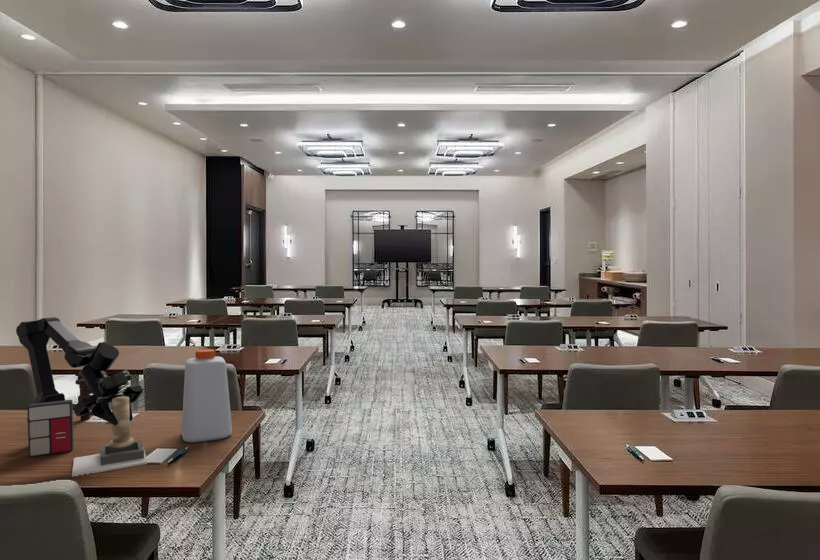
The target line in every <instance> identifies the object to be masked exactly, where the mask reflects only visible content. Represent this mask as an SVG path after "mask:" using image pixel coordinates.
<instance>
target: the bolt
mask: <svg viewBox="0 0 820 560" xmlns="http://www.w3.org/2000/svg"><path fill="white" fill-rule="evenodd" d="M75 385H77V386H78V387H79V400H80V399H81V397H85V396H89V395H91V394H89V393H88V390H89V389H90V388H89V387H88V385H87V384H86V382H85V380H84V379H81V380H78V378H77V379H76V380H75ZM88 410H89V411H88V413H87V415H83V416H79V417H80V420H81V421H89V420H90V419H91V415H90V413H91V409H90V408H88ZM88 419H89V420H88Z"/></svg>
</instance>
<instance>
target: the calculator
mask: <svg viewBox="0 0 820 560" xmlns="http://www.w3.org/2000/svg"><path fill="white" fill-rule="evenodd" d="M73 407H74V405H73V399H65V400H63V401H54V402H44V403H34V404H33V403H29V405H28V406H27V409H26V410H27V419H28V422H27V434H28V435H27V436H28V437H27V438H28V439H27V440H28V443H27V444H28V457H29V458H32V457H39V456H48V455H54V454H60V453H62V454H63V453H67V452H68V451H69V452H73V450H74V423H73V422H74V416H73V414H74V408H73ZM69 452H68V453H69Z"/></svg>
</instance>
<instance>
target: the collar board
mask: <svg viewBox="0 0 820 560" xmlns="http://www.w3.org/2000/svg"><path fill="white" fill-rule="evenodd" d="M99 449H100V452H99V453H95V454H90V455H84V456H75V457H73V463H72V464H73V465H72V471H71V477H72V478H75V477H80V476H79V475H81V476H85V475H84V474H86V475H91V474H90V473H92V474H97V473H102V472H108V471H109V472H110V471H113V470H114V471H115V470H121V469H125V468H133V467H136V466H137V467H138V466H144V465H148V458H147V455H146V452H145V448H144V446H143V441H142V440H134V443H133V444H132V445H130V446H127V447H121V448H111V447H109V444H107V445H103V446H100V448H99ZM74 476H75V477H74Z"/></svg>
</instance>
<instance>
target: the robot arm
mask: <svg viewBox="0 0 820 560" xmlns="http://www.w3.org/2000/svg"><path fill="white" fill-rule="evenodd" d="M15 331H16V332H15V333H16V335H17V337H18V340H19V343H20V344H21V345H22V347H24V348H25V349H26V350H27V351H28V356H29V361H30V367H31V371H32V376H33V377H32V378H33V381H34V385H35V390H36V396H35V398H34V400H33V403H32V404H34V403H44V402H54V401H63V400H66V398H65V397H66V395H65V394H64V392H61V393H60V392H58V391H57V390H56V385H55V380H54V376H53V372H52V366H51V362H50V358H49V352H48V347H47V345H48V344H49V343H48V342H49V341H50V339H51V340H52V341H53V342H54V343H55V344H56V345H57V347H59V348H60V349H61V350H62V351H63V352H64V360H65V361H66V363H67V364H68V365H69V366H70V367H71V368H72V369H75V368H80V367H82V369H81V370H79V371H78V375H77V379H78V380H81V379H84V380H85V382H86V384H87V385H88V387H89V388H90V389H89V390H88V393H89V394H90V395H89V396H85V397H81V399H80V398H79V400H78V402H77V403H76V404H75V406H73V407H74V408H73V414H74V415H75V416H76V417H80V416H83V415H87V413H88V411H89V410H88V408H90V409H91V410H90V417H92V416H95V417H97V418H99V419H101V420H104V421H105V422H107V423H110V424H111V425H112V424H113V425H117V424H118V422H117V420H116V418H115V416H114V414H113V413H112V409H111V408H110V406H109V403H111V404H112V399H113V398H116V397H129V415H130V422H132V420H133V419H134V418H133V410H132V403H135V402H136V401H137V400H138V399H139V397H140V396H141V395H142V393H143V392H144V389H143V387H142V385H140V384H134V385H130V386H127V387H126V388H125V389H124V391H123V392H120V391H122V388H123V387H122V386H124V385H126V384H129V381H131V380H132V375H131V373H130V372H129V370H128V369H126V370H122V371H121V372H119V373H115V374H112V375H111V374H110V375H108V373H107V372H106V371H108V370H110V369H111V367H112V365H113V364H114V363H115V361H116V360H117V359H118V357H119V356H120V351H119V349H118V348H117V347H115V346H113V345H111V344H107V343H108V342H106V341H103V342H98V344H97V345H96V347H95V346H93V345H92V344H90V343H88V342H86V341H83V340H82V341H81V340H79V339H78V338H77V337H76V336H75V335H74V334H73V333H72V332H71V331H70V330H69V329H68V328H67V327H66V326H64V325H63V324H62V323H61V320H60V319H59V318H58V317H55V316H54V317H42V318H39V319H37V320H30V321H21V322H20V323H19V324H18V325H17V326H16V330H15ZM26 420H27V421H26V422H27V423H28V418H27V419H26Z"/></svg>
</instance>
